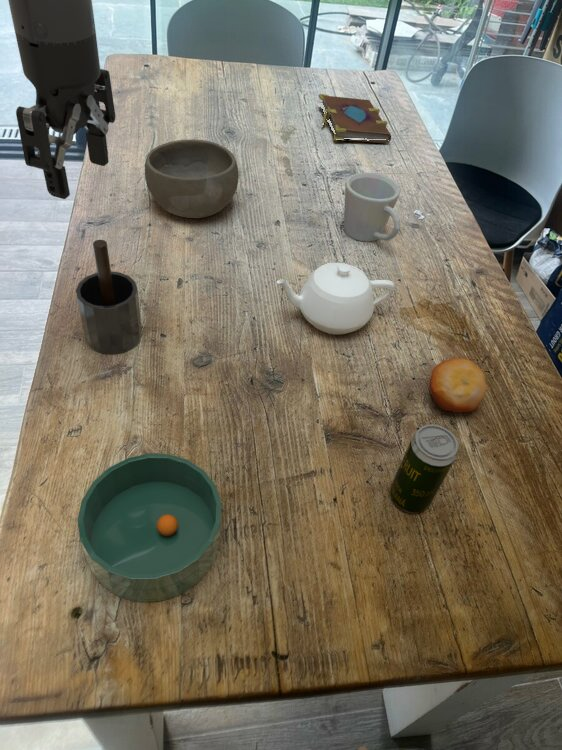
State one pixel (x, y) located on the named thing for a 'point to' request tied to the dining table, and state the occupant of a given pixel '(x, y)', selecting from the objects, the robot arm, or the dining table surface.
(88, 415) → the dining table surface
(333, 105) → the book
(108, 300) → the stick
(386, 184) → the mug
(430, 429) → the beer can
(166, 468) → the mixing bowl
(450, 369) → the fruit
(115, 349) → the crock
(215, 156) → the bowl
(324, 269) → the teapot
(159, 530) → the ball
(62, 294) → the dining table surface
